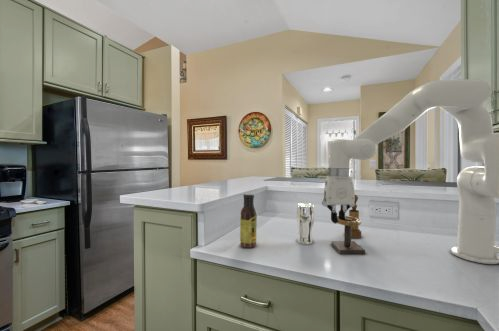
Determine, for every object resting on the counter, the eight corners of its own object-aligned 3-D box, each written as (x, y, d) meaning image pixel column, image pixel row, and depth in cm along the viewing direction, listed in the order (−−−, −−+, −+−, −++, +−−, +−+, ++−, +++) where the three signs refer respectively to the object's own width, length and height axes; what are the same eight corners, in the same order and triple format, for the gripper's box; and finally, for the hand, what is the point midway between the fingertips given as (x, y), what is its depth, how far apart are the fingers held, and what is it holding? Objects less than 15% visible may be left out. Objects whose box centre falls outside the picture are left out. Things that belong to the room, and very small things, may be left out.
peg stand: (353, 244, 96) (354, 215, 96) (365, 254, 88) (366, 222, 87) (331, 244, 96) (331, 215, 96) (340, 254, 87) (341, 222, 87)
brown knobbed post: (364, 238, 104) (365, 196, 103) (348, 238, 104) (349, 196, 103) (357, 233, 110) (358, 193, 109) (342, 233, 110) (344, 193, 110)
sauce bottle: (254, 249, 91) (255, 196, 90) (238, 247, 92) (238, 195, 91) (257, 243, 98) (258, 193, 97) (242, 241, 99) (242, 192, 98)
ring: (353, 219, 96) (354, 215, 96) (365, 226, 87) (365, 222, 87) (330, 219, 96) (330, 215, 96) (340, 226, 87) (340, 221, 87)
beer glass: (293, 242, 98) (294, 205, 97) (298, 237, 104) (299, 202, 103) (311, 246, 95) (312, 207, 94) (315, 240, 101) (316, 204, 100)
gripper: (321, 173, 86) (319, 225, 87) (365, 174, 87) (363, 225, 88) (314, 172, 94) (313, 219, 95) (355, 172, 94) (354, 219, 95)
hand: (337, 222), depth 91 cm, fingers closed on ring, 2 cm apart
